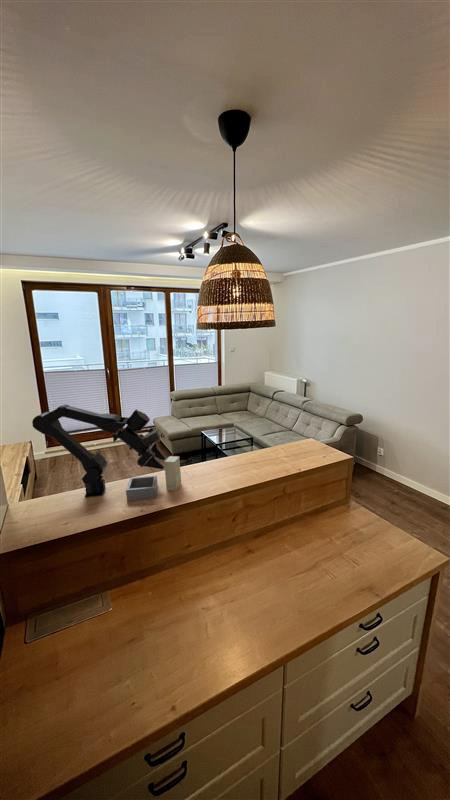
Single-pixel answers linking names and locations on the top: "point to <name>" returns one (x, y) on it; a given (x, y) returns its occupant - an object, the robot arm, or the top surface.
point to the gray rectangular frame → (142, 488)
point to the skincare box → (172, 472)
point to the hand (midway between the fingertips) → (163, 463)
